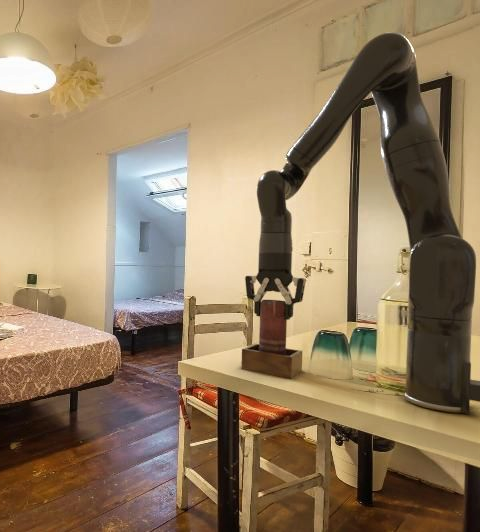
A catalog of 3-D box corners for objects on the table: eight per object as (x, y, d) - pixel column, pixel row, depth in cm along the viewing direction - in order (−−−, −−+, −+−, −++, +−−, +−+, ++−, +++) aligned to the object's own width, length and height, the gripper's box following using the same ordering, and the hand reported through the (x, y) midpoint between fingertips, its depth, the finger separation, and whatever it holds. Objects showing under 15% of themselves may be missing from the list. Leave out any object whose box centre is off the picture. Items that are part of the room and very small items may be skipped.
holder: (301, 370, 100) (302, 350, 100) (291, 378, 93) (291, 357, 93) (254, 362, 108) (255, 343, 108) (241, 368, 101) (241, 348, 100)
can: (261, 357, 98) (263, 301, 97) (256, 351, 104) (258, 298, 104) (288, 359, 96) (290, 302, 96) (281, 353, 102) (283, 299, 102)
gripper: (240, 251, 102) (238, 315, 102) (303, 251, 92) (300, 322, 92) (251, 251, 107) (249, 313, 108) (311, 252, 97) (308, 319, 98)
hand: (273, 317), depth 100 cm, fingers closed on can, 6 cm apart
